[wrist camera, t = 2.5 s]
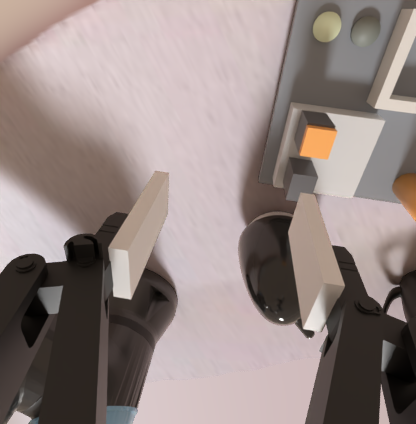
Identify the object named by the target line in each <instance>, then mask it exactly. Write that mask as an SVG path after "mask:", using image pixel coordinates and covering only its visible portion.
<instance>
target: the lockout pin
mask: <svg viewBox="0 0 416 424" xmlns="http://www.w3.org/2000/svg"><path fill="white" fill-rule="evenodd" d="M392 191H393V193H394V194H395V195H396V197H397V198H398V199H399V201H400V202H401V203H402V205H403V206H404V207H405V208H406V210H407V211H408V212H409V214H410V215H411V216H412V218H413V219H414V220H415V221H416V174H415V173H407V174H404V175H401V176H400V177H398V178H397V179H396V180H395V181H394V183H393V185H392Z"/></svg>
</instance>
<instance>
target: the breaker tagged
mask: <svg viewBox="0 0 416 424" xmlns="http://www.w3.org/2000/svg"><path fill="white" fill-rule="evenodd" d="M335 127H336V126H335V125H334V123H333V122H332V121H331V119H330V118H329V116H328V115H327V114H326V113H319V112H311V111H304V110H302V112H301V116H300V120H299V123H298V127H297V131H296V134H295V138H294V141H295V144H296V147H297V150H298V153H299V155H300V156H305V157H312V158H319V159H326V160H328V158H329V155H330V152H331V149H332V146H333V143H334V140H335V138H336V135H337V130H336V129H335Z"/></svg>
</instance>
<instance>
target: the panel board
mask: <svg viewBox="0 0 416 424" xmlns="http://www.w3.org/2000/svg"><path fill="white" fill-rule="evenodd" d="M302 110H304V111H311V112H319V113H326V114H327V115H328V116H329V118H330V119H331V121H332V122H333V123H334V125H335V126H336V127H335V129H336V130H337V135H336V138H335V140H334V143H333V146H332V149H331V152H330V155H329V158H328V160H326V159H319V158H312V157H305V156H300V155H299V153H298V150H297V147H296V144H295V141H294V138H295V134H296V131H297V127H298V123H299V120H300V116H301V112H302ZM289 157H291V158H298V159H305V160H312V162H313V165H314V167H315V170H316V173H317V175H318V180H317V183H316V186H315V189H314V191H313V193H317V194H323V195H330V196H337V197H344V198H350V199H352V198H353V197H359V198H366V199H372V200H379V201H386V202H393V203H399V204H402V203H401V202H400V201H399V199H398V198H397V197H396V195H395V194H394V193H393V191H392V185H393V183H394V181H395V180H396V179H397V178H398V177H400V176H401V175H404V174H407V173H415V174H416V0H297V2H296V7H295V12H294V16H293V21H292V26H291V30H290V35H289V39H288V44H287V49H286V53H285V58H284V62H283V67H282V72H281V76H280V81H279V86H278V90H277V95H276V99H275V104H274V109H273V113H272V118H271V123H270V127H269V132H268V136H267V141H266V146H265V150H264V155H263V160H262V164H261V169H260V173H259V183H264V184H271V185H273V186H274V187H276V188H283V189H284V186H283V179H284V175H285V172H286V168H287V164H288V160H289Z"/></svg>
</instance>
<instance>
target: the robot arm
mask: <svg viewBox="0 0 416 424" xmlns="http://www.w3.org/2000/svg"><path fill="white" fill-rule="evenodd" d="M168 191H169V173H166V172H160V171H155V173H154V174H153V176H152V177H151V179H150V181H149V182H148V184H147V186H146V187H145V189H144V190H143V192H142V194H141V195H140V197H139V199H138V200H137V202H136V203H135V205H134V207H133V208H132V210H131V211H130V213H129V214H124V213H118V212H116V213H114V214H112V215H111V216H109V217H108V218H107V219H106V221H105V222H104V223H103V226H101V228H100V229H99V231H98V232H97V233H96V235H93V234H80V235H76V236H74V237H71V238H70V239H69V240H67V241H66V243H65V245H64V250H65V254H66V259H67V261H63V262H53V263H46V262H45V259H44V257H42V256H41V255H38V254H26V255H22V256H19V257H17V258H15V259H13V260H12V261H11V262H10V263H9V264H8V265H7V266H6V267H5V268H4V270H3V271H2V272H1V274H0V424H7V422H8V421H9V419H10V418H11V416H12V415H13V413H14V412H15V411H19V412H21V413H23V414H25V415H27V416H29V417H30V418H31V419H32V420H31V421H30V422H29V424H132V423H133V420H134V418H135V415H136V414H137V411H138V410H137V408H138V404H139V401H140V397H141V394H142V390H143V387H144V383H145V380H146V376H147V373H148V369H149V366H150V362H151V359H152V355H153V352H154V348H155V345H156V343H157V342H158V340H159V339H160V338H161V336H162V335H163V333H164V332H165V331H166V329H167V328H168V326H169V325H170V323H171V322H172V320H173V318H174V316H175V312H176V308H177V296H176V293H175V291H174V290H173V288H172V287H171V285H170V284H169V283H168V282H167V281H166V280H165V279H163V278H162V277H161V276H159V275H157V274H156V273H154V272H152V271H149V270H147V269H144V268H145V266H146V264H147V261H148V259H149V256H150V254H151V252H152V249H153V247H154V245H155V242H156V240H157V238H158V235H159V233H160V231H161V228H162V226H163V224H164V221H165V219H166V217H167V214H168ZM288 235H289V241H290V248H291V254H292V261H293V267H294V274H295V280H296V287H297V293H298V300H299V306H300V313H301V319H302V326H303V329H306V330H312V331H318V332H322V330H323V328H324V326H325V325H327V329H328V335H327V337H326V339H325V341H324V343H323V345H322V346H321V348H320V350H319V351H320V352H322V354H321V359H320V363H319V367H318V372H317V376H316V380H315V384H314V388H313V392H312V397H311V401H310V405H309V409H308V413H307V418H306V422H305V424H379V408H380V390H381V385H382V390H383V394H384V399H385V404H386V408H387V413H388V417H389V422H390V424H416V317H413V318H410V320H409V321H408V322H407V323H406V322H404V321H401V320H399V319H396V318H394V317H392V316H389V315H387V314H385V313H384V311H383V309H382V307H381V306H380V304H379V303H378V302H376V301H375V300H374V299H373V298H371V297H369V296H368V294H367V292H366V289H365V287H364V284H363V282H362V279H361V277H360V274H359V272H358V269H357V267H356V265H355V262H354V259H353V257H352V255H351V254H350V253H349V252H348V251H347V250H346V248H345V247H340V246H333V245H331V242H330V239H329V236H328V233H327V230H326V227H325V224H324V221H323V218H322V215H321V212H320V209H319V206H318V203H317V200H316V197H315V195H314V194H307V193H300V196H299V199H298V203H297V206H296V209H295V212H294V215H293V218H292V222H291V225H290V228H289V231H288Z"/></svg>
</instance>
